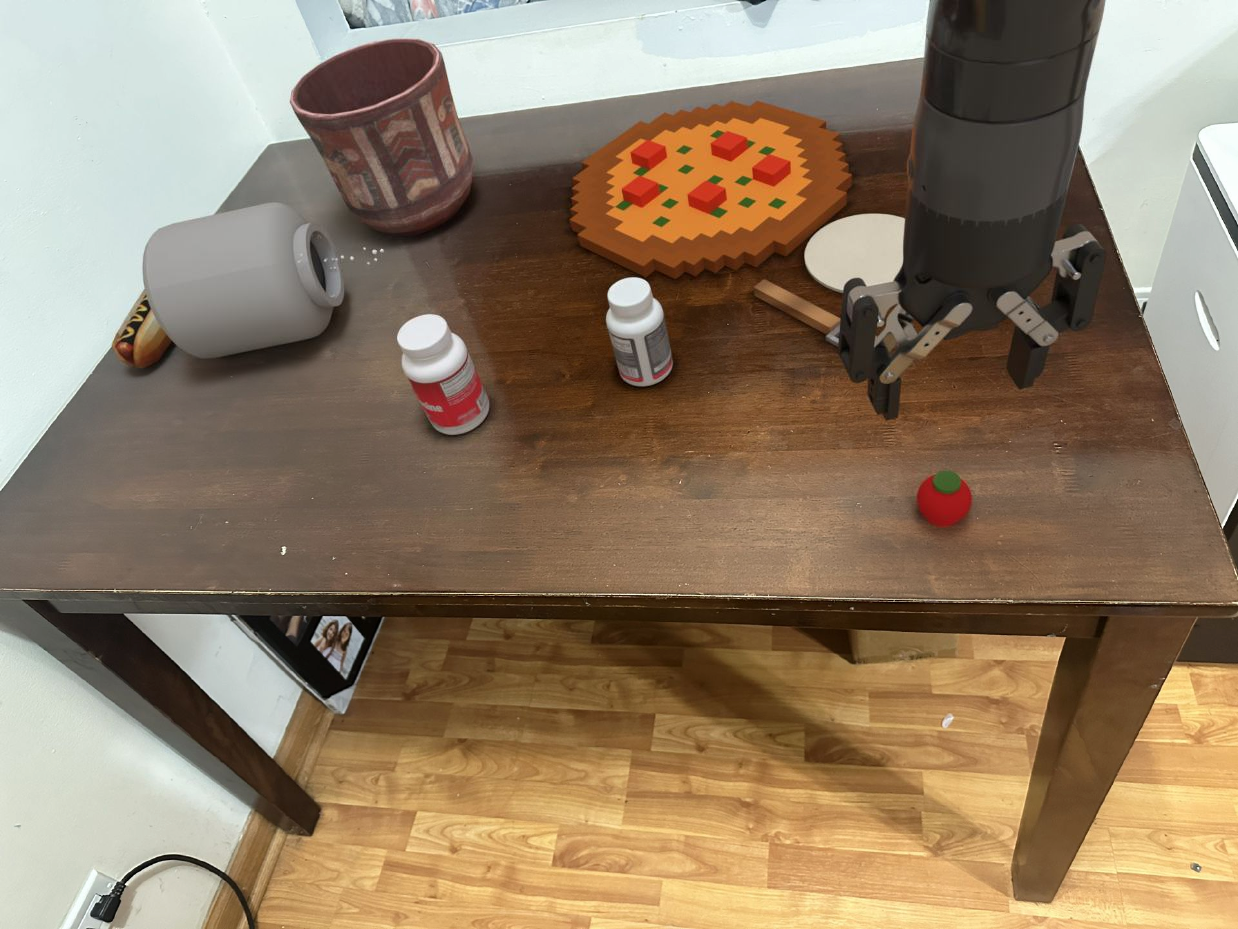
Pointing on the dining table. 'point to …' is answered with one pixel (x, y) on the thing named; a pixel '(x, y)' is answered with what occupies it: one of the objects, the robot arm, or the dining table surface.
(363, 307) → the dining table surface
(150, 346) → the hot dog
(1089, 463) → the dining table surface
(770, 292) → the fork
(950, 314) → the robot arm
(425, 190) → the pottery
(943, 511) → the strawberry
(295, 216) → the jar
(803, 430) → the dining table surface
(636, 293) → the pill bottle
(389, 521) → the dining table surface
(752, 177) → the pizza
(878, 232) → the plate
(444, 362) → the pill bottle
